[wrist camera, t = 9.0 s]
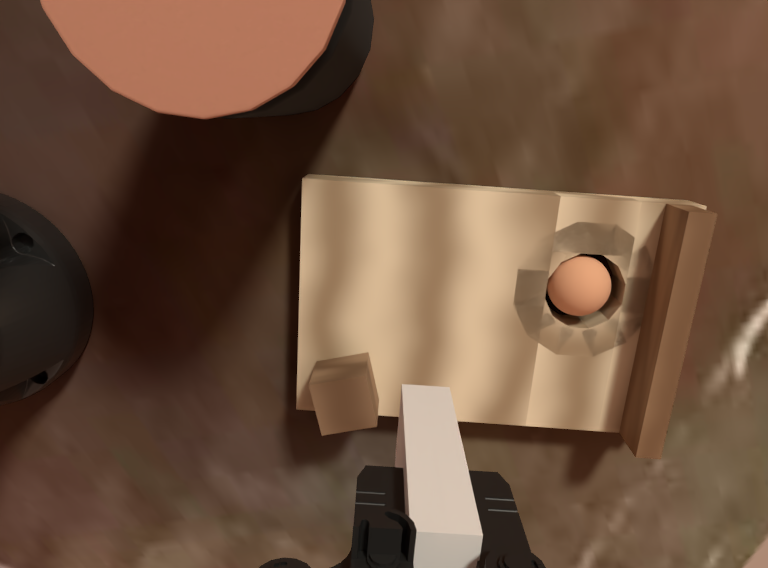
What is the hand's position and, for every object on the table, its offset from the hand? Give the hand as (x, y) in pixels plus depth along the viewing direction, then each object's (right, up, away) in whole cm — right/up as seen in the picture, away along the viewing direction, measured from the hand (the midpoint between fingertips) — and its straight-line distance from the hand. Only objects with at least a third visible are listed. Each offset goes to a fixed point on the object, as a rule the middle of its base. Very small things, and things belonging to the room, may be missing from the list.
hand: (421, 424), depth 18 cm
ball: (+11, +4, +20) cm, 23 cm away
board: (+6, +3, +22) cm, 23 cm away
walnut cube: (-4, -2, +22) cm, 22 cm away
